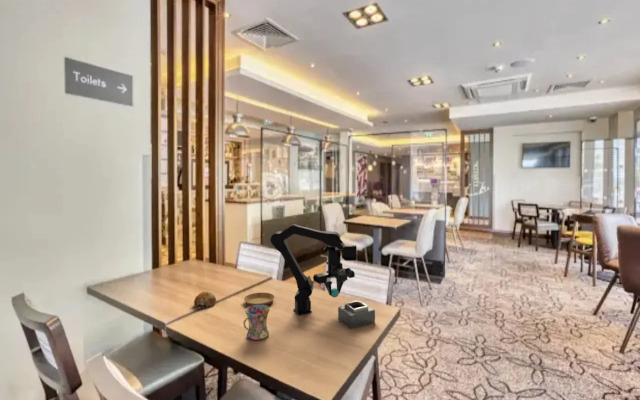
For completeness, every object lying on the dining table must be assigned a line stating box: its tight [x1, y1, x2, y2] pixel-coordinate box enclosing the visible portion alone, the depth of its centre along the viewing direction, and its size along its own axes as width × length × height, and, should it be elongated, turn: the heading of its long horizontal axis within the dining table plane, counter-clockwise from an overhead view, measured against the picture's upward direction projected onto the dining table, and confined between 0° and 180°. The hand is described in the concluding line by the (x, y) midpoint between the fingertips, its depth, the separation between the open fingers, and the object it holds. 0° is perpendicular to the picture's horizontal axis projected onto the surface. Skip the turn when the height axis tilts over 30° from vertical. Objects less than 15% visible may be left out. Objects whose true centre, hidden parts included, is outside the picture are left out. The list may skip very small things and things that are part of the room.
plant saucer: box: [243, 292, 275, 307], centre depth 160 cm, size 15×15×3 cm
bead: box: [331, 287, 340, 298], centre depth 147 cm, size 4×4×4 cm
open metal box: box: [337, 300, 376, 330], centre depth 139 cm, size 12×10×7 cm
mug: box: [242, 305, 270, 341], centre depth 125 cm, size 12×9×11 cm
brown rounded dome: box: [193, 291, 217, 308], centre depth 158 cm, size 10×10×8 cm
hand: (334, 294), depth 147 cm, fingers closed on bead, 4 cm apart
